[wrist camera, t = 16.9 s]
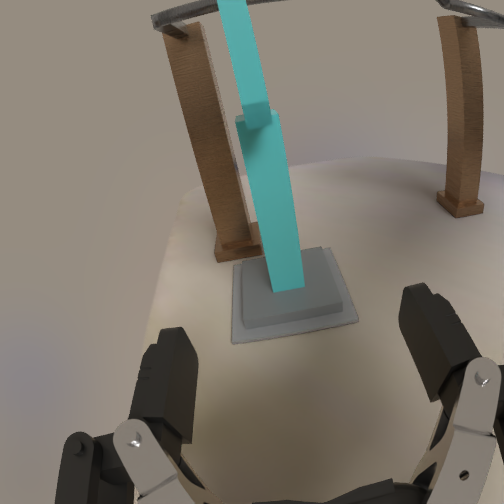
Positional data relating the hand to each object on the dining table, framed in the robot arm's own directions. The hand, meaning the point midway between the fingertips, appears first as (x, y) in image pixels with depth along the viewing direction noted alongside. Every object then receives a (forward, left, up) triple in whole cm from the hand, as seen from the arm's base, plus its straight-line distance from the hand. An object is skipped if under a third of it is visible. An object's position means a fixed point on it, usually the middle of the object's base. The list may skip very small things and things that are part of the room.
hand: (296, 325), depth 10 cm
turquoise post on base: (-8, -8, -8) cm, 14 cm away
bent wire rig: (-18, -5, -8) cm, 20 cm away
